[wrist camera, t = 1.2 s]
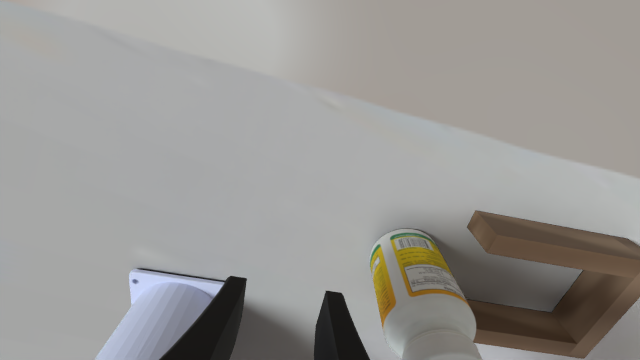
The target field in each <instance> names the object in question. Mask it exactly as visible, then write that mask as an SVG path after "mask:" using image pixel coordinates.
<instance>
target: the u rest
mask: <svg viewBox="0 0 640 360" xmlns="http://www.w3.org/2000/svg"><path fill="white" fill-rule="evenodd" d="M467 228H468V229H469V230H470V232H471V233H472V234H473V236H474V237H475V238H476V239H477V241H478V242H479V243H480V245H481V246H482V247H483V249H484V250H485V251H486V252H487V253H489V254H495V255H501V256H506V257H512V258H518V259H524V260H530V261H535V262H541V263H547V264H553V265H559V266H564V267H570V268H576V269H582V270H583V272H582V273H581V274H580V276H579V277H578V278H577V280H576V281H575V282H574V284H573V285H572V286H571V288H570V289H569V290H568V292H567V293H566V294H565V295H564V297H563V298H562V299H561V301H560V302H559V303H558V305H557V306H556V307H555V309H554V310H553V311H552V313H549V312H543V311H537V310H530V309H524V308H517V307H511V306H505V305H498V304H492V303H486V302H479V301H473V300H467V299H466V301H467V303H468V304H469V306H470V308H471V310H472V312H473V314H474V317H475V321H476V334H475V338H474V340H473V342H474V343H479V344H486V345H493V346H500V347H507V348H514V349H521V350H528V351H535V352H542V353H548V354H555V355H562V356H569V357H576V358H583V359H584V358H585V357H586V356H587V355H588V354H589V352H590V351H591V350H592V349H593V348H594V347H595V346H596V345H597V344H598V343H599V341H600V340H601V339H602V338H603V337H604V336H605V335H606V334H607V333H608V331H609V330H610V329H611V328H612V327H613V326H614V325H615V324H616V323H617V322H618V320H619V319H620V318H621V317H622V316H623V315H624V314H625V313H626V312H627V311H628V309H629V308H630V307H631V306H632V305H633V304H634V303H635V302H636V301H637V300H638V298H639V297H640V247H639V246H638V245H636V244H635V243H633V242H632V241H630V240H629V239H626V238H621V237H616V236H610V235H605V234H599V233H594V232H589V231H583V230H578V229H572V228H567V227H562V226H556V225H551V224H545V223H540V222H535V221H529V220H524V219H518V218H513V217H508V216H502V215H497V214H491V213H486V212H481V211H475V213H474V215H473V217H472V219H471V221H470V223H469V225H468V227H467Z"/></svg>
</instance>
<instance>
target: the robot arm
mask: <svg viewBox="0 0 640 360" xmlns="http://www.w3.org/2000/svg"><path fill="white" fill-rule="evenodd" d="M246 281H247V278H241V277H234V276H230V277H228V278H227V280H226V281H225V282H218V281H212V280H205V279H199V278H192V277H185V276H179V275H172V274H166V273H159V272H152V271H146V270H139V269H134V270H132V271H131V272H130V273H129V282H130V293H131V304H132V307H131V308H130V309H129V311H128V312H127V314H126V315H125V317H124V318H123V319H122V321H121V322H120V324H119V325H118V327H117V328H116V329H115V331H114V332H113V334H112V335H111V337H110V338H109V339H108V341H107V342H106V344H105V345H104V347H103V348H102V349H101V351H100V352H99V354H98V355H97V357H96V358H95V359H94V360H229V359H230V356H231V353H232V350H233V347H234V344H235V341H236V337H237V333H238V329H239V325H240V321H241V317H242V311H243V304H244V296H245V288H246ZM314 360H370V359H369V357H368V354H367V352H366V350H365V348H364V346H363V344H362V342H361V339H360V337H359V335H358V333H357V331H356V328H355V326H354V323H353V321H352V318H351V316H350V313H349V311H348V308H347V305H346V302H345V299H344V296H343V295H342V293H338V292H332V291H326V293H325V296H324V300H323V303H322V307H321V310H320V313H319V317H318V320H317V324H316V331H315V346H314Z"/></svg>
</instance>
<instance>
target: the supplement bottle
mask: <svg viewBox="0 0 640 360" xmlns="http://www.w3.org/2000/svg"><path fill="white" fill-rule="evenodd" d="M370 267H371V272H372V277H373V282H374V287H375V292H376V297H377V302H378V307H379V312H380V317H381V322H382V327H383V332H384V336H385V339H386V342H387V344H388V345H389V347H390V349H391V350H392V351H393V352H394V353H395V354H396V355H397V356H399V357H400V358H402V360H482V358H481V356H480V354H479V352H478V349H477V347H476V345H475V344H474V342H473V340H474V338H475V334H476V321H475V317H474V314H473V312H472V310H471V308H470V306H469V304H468V303H467V301H466V299H465V297H464V295H463V293H462V291H461V290H460V288H459V286H458V284H457V282H456V280H455V279H454V277H453V275H452V273H451V271H450V270H449V268H448V266H447V264H446V262H445V260H444V258H443V256H442V255H441V253H440V251H439V249H438V247H437V245H436V244H435V242H434V241H433V240H432V239H431V238H430V237H429V236H428V235H427V234H425V233H423V232H421V231H418V230H414V229H399V230H394V231H392V232H389V233H387V234H385V235H384V236H382V237H381V238H380V239H379V240H378V241H377V242H376V243H375V244H374V246H373V248H372V250H371V254H370Z"/></svg>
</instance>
